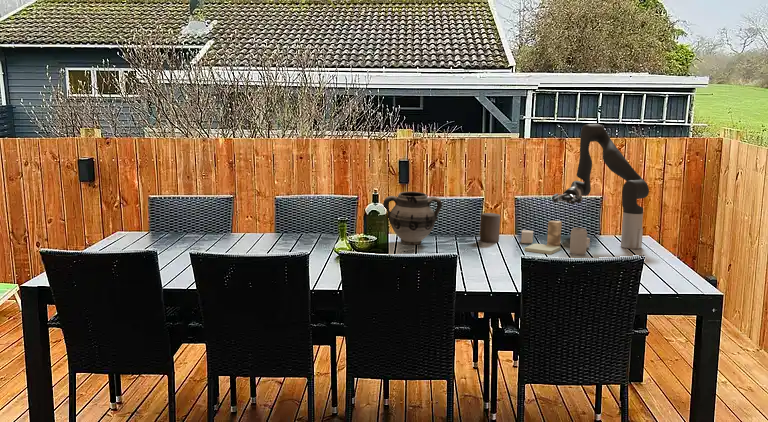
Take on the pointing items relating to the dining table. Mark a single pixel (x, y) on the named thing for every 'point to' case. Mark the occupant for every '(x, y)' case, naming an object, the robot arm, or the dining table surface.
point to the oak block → (554, 233)
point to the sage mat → (542, 248)
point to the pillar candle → (490, 227)
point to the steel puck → (588, 243)
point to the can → (578, 241)
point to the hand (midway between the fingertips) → (563, 201)
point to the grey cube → (527, 236)
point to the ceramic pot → (412, 216)
